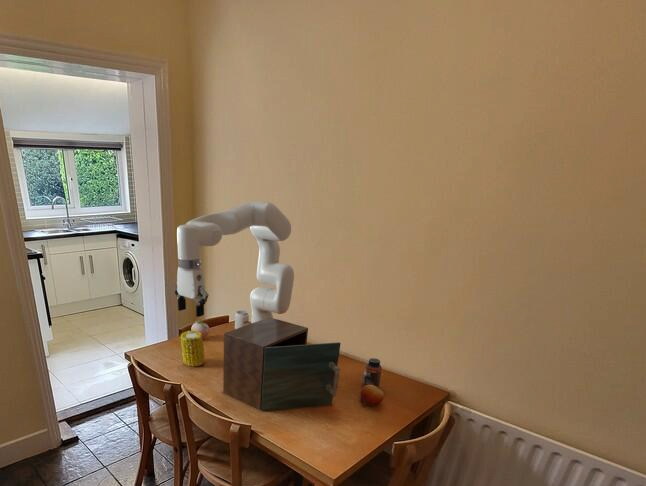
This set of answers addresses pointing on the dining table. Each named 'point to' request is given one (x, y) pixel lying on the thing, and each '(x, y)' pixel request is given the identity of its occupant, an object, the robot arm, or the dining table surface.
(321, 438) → the dining table surface
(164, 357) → the dining table surface
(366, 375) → the supplement bottle
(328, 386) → the door
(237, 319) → the beverage can
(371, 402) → the fruit
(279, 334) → the cupboard
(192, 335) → the food
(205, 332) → the decorative fruit
